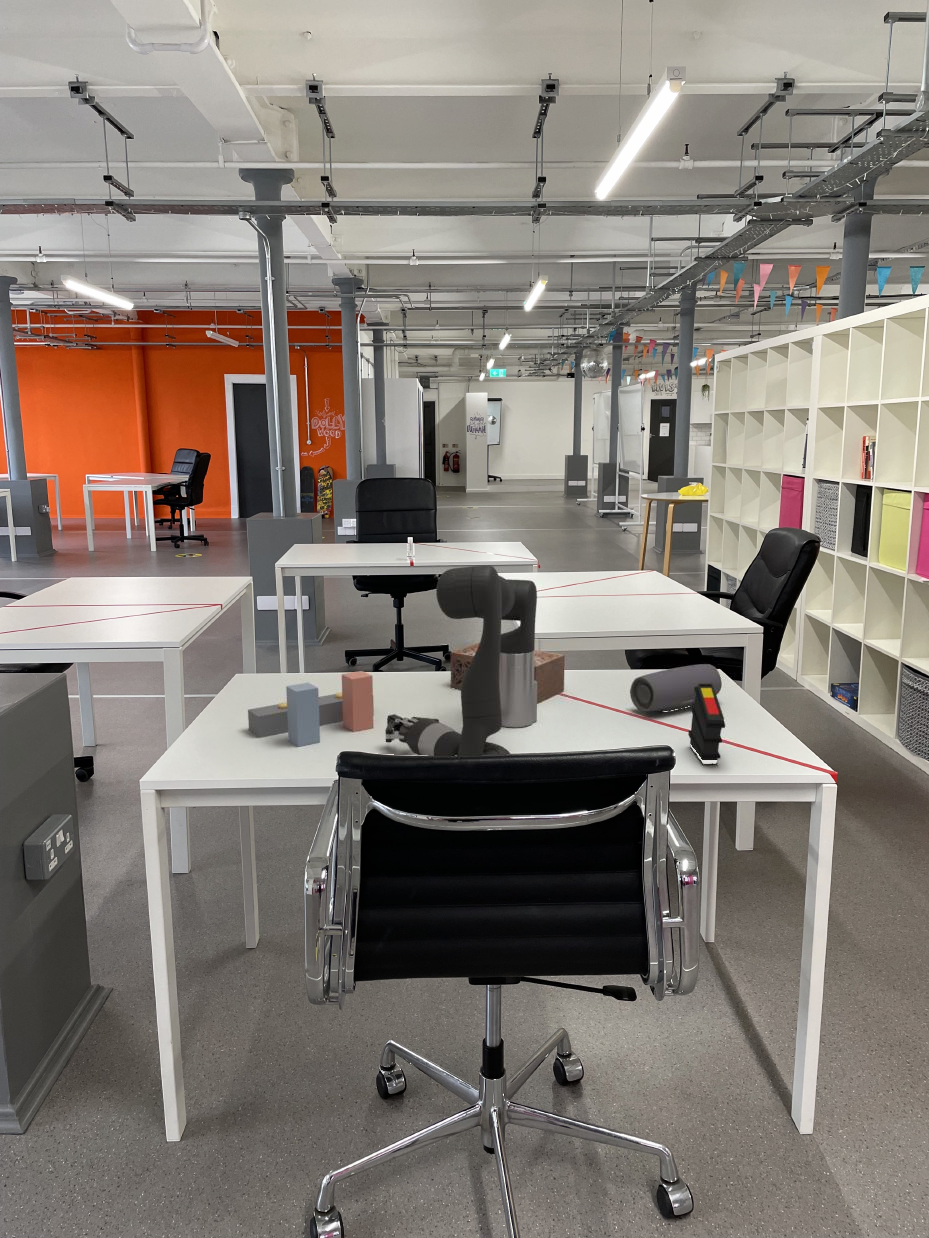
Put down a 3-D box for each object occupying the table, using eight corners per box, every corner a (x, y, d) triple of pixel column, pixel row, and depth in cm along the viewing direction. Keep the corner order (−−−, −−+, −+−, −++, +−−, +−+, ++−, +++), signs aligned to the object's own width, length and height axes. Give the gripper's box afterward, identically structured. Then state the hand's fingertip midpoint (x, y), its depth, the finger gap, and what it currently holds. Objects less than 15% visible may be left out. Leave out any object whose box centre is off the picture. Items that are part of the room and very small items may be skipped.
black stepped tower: (702, 734, 193) (713, 682, 183) (715, 780, 182) (728, 727, 173) (684, 734, 193) (695, 682, 183) (697, 780, 182) (709, 727, 173)
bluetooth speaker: (693, 696, 227) (695, 658, 225) (722, 705, 219) (724, 666, 217) (627, 710, 215) (628, 670, 213) (654, 721, 207) (656, 679, 205)
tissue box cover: (450, 689, 234) (450, 652, 232) (481, 677, 245) (481, 641, 243) (535, 706, 219) (536, 666, 217) (563, 692, 231) (564, 655, 229)
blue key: (309, 735, 193) (308, 682, 190) (320, 742, 189) (318, 687, 186) (288, 740, 190) (286, 686, 188) (298, 746, 186) (296, 691, 184)
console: (360, 713, 213) (359, 685, 211) (401, 734, 197) (400, 705, 196) (248, 734, 197) (246, 705, 196) (283, 760, 182) (281, 728, 180)
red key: (362, 721, 202) (361, 670, 200) (373, 727, 198) (372, 675, 196) (343, 725, 199) (341, 674, 197) (353, 731, 195) (352, 679, 193)
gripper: (464, 717, 175) (417, 696, 188) (406, 730, 167) (362, 707, 181) (464, 754, 176) (417, 730, 190) (406, 767, 169) (363, 742, 183)
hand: (390, 719), depth 186 cm, fingers closed
